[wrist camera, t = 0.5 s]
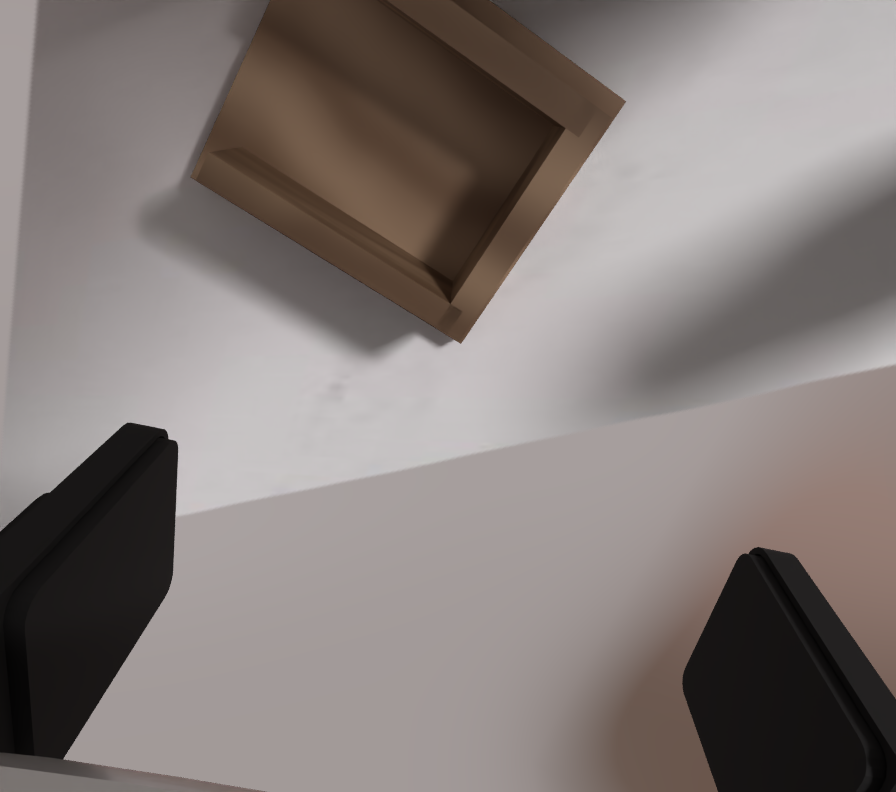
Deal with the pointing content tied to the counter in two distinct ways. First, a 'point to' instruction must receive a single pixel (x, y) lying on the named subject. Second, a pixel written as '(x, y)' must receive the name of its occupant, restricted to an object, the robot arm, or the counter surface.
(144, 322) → the counter surface
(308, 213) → the dock
